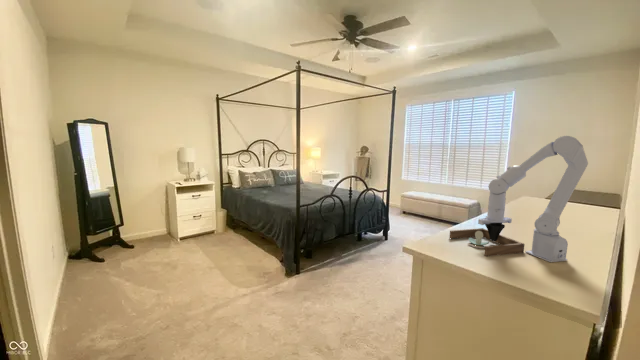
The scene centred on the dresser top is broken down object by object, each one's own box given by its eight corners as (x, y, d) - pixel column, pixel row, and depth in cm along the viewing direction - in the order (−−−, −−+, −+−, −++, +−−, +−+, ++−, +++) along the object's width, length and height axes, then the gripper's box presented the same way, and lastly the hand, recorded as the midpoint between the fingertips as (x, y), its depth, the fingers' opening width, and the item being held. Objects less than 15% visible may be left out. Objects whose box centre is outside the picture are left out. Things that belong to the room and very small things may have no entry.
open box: (523, 252, 105) (524, 243, 104) (486, 256, 101) (487, 247, 100) (481, 235, 124) (482, 228, 123) (449, 238, 120) (449, 230, 120)
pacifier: (484, 251, 107) (489, 246, 110) (485, 235, 106) (491, 232, 110) (464, 245, 112) (470, 242, 116) (465, 231, 111) (471, 227, 115)
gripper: (502, 205, 117) (499, 235, 119) (473, 206, 114) (471, 238, 115) (517, 209, 110) (514, 241, 112) (487, 210, 107) (484, 244, 109)
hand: (493, 240), depth 113 cm, fingers closed
